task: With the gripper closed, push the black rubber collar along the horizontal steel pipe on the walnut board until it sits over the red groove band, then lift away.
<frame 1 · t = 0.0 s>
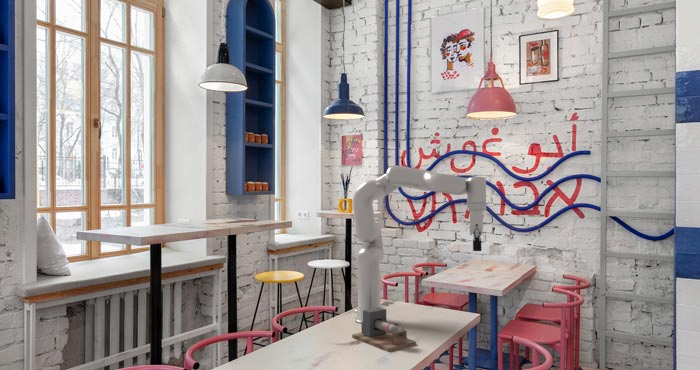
hand: (477, 249, 202), 31 cm above the table, tool pointing down, fingers open, 9 cm apart
collar: (374, 321, 187), point 6 cm above the table, slide at -5.0 cm
pipe rig: (383, 341, 183), on the table
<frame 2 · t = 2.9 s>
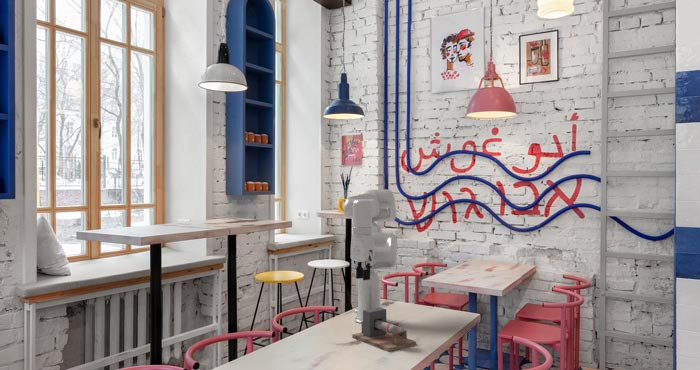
hand: (363, 278, 193), 21 cm above the table, tool pointing down, fingers open, 3 cm apart
nothing on the table moved.
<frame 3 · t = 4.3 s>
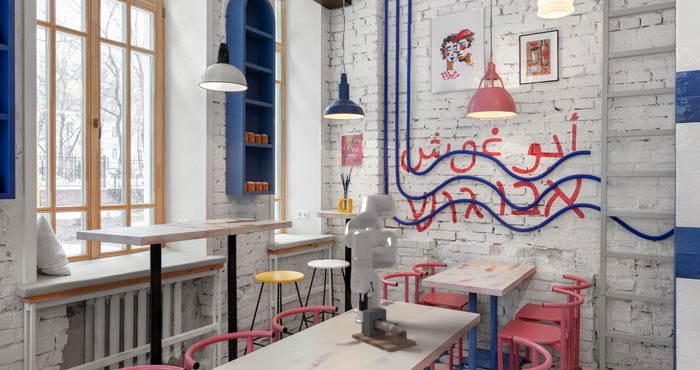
hand: (363, 310, 193), 9 cm above the table, tool pointing down, fingers closed
nothing on the table moved.
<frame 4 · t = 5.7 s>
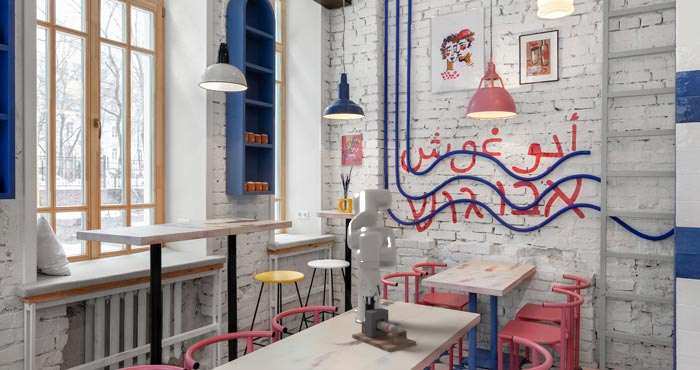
hand: (369, 313, 189), 8 cm above the table, tool pointing down, fingers closed
collar: (376, 322, 186), point 6 cm above the table, slide at -3.8 cm, touching gripper
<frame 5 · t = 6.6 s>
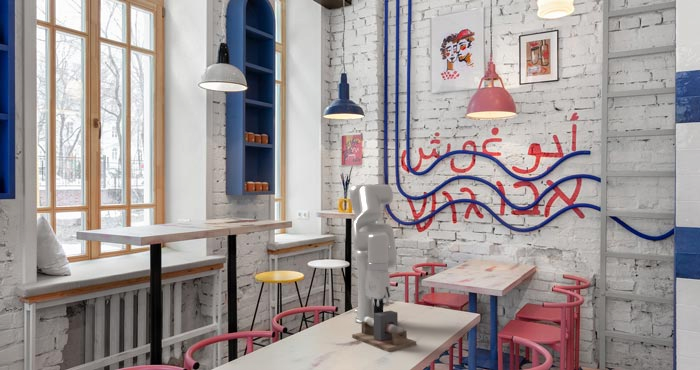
hand: (378, 316, 185), 8 cm above the table, tool pointing down, fingers closed
collar: (385, 325, 182), point 6 cm above the table, slide at 1.4 cm, touching gripper
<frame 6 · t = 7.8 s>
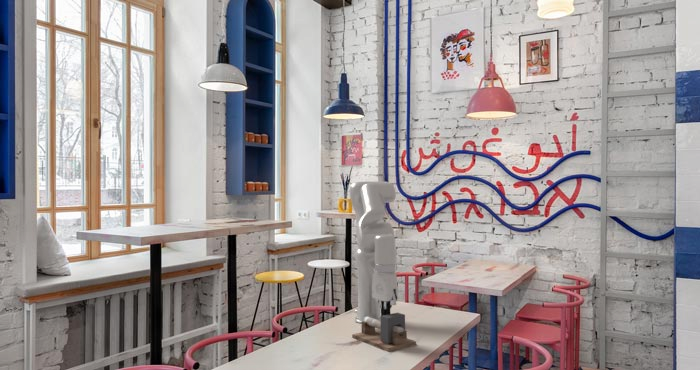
hand: (385, 319, 182), 8 cm above the table, tool pointing down, fingers closed
collar: (392, 327, 179), point 6 cm above the table, slide at 5.5 cm, touching gripper
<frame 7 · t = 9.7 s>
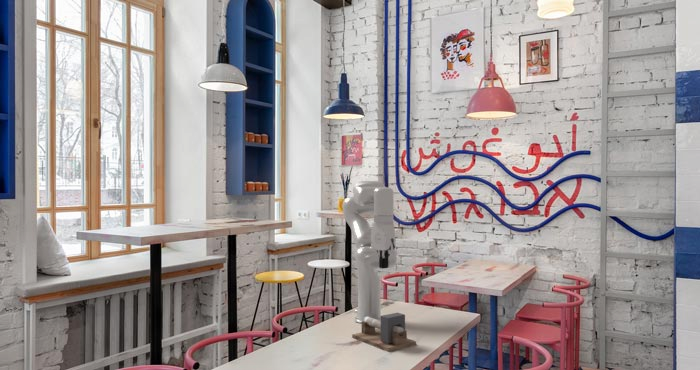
hand: (383, 267, 191), 26 cm above the table, tool pointing down, fingers closed
collar: (392, 327, 179), point 6 cm above the table, slide at 5.5 cm
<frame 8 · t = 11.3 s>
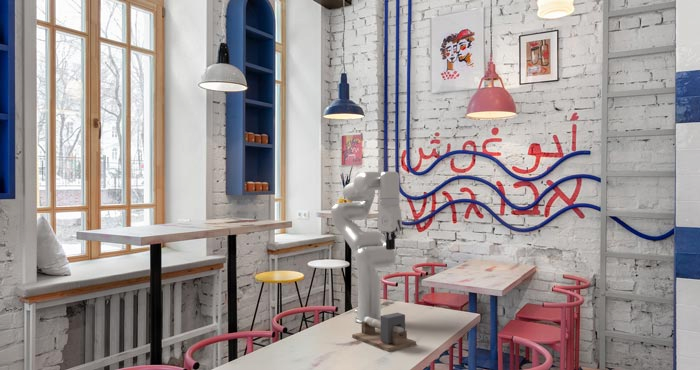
hand: (390, 249, 197), 32 cm above the table, tool pointing down, fingers closed
nothing on the table moved.
at the end: collar slide at 5.5 cm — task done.
